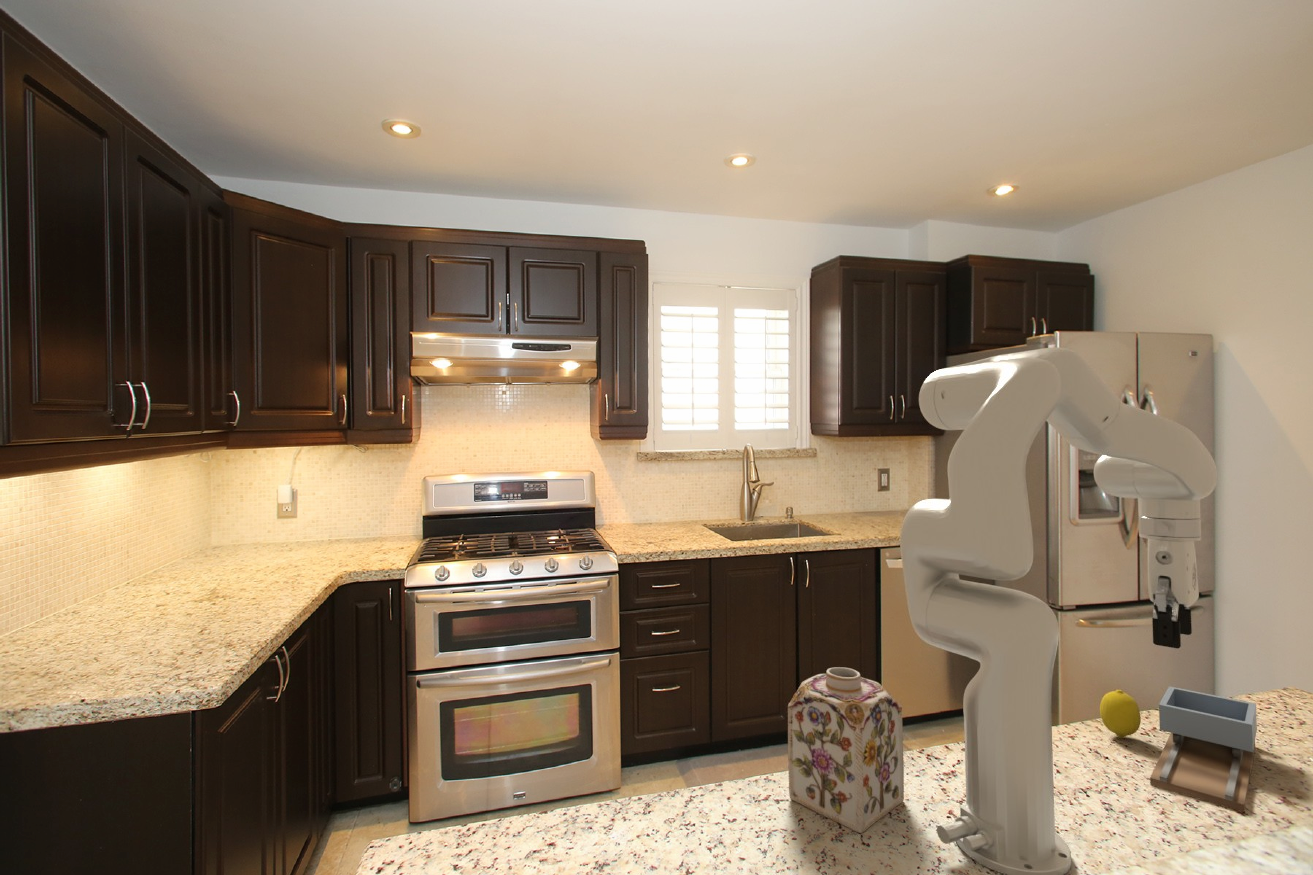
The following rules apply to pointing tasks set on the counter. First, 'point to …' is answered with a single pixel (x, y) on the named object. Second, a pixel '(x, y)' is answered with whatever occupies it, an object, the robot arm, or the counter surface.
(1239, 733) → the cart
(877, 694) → the decorative jar
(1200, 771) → the track
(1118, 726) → the lemon
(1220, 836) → the counter surface
